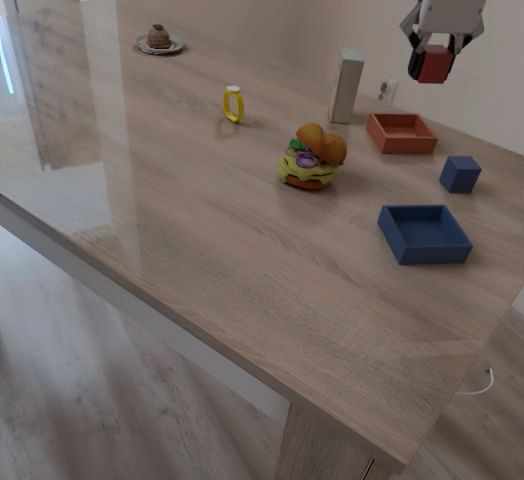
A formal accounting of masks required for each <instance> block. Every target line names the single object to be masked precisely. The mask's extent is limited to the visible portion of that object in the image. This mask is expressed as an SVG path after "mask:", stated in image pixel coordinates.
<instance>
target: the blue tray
mask: <svg viewBox="0 0 524 480" xmlns="http://www.w3.org/2000/svg"><path fill="white" fill-rule="evenodd" d="M377 224H378V226H379V228H380V230H381V233H382V235H383V236H384V238H385V241H386V242H387V244H388V246H389V249H390V250H391V252H392V254H393V257H394V258H395V259H396V262H397V264H398V266H399V265H400V266H401V265H427V264H429V265H431V264H432V265H433V264H459V263H463V264H464V263H466V261H467V259H469V255H470V254H471V252H472V250H473V248H474V244H473V243H472V242H471V240H470V239H469V237H468V236H467V235H466V232H465V231H464V230H463V228H462V227H461V226H460V224H459V223H458V221H457V219H455V217H454V215H453V214H452V212H451V211H450V209H449V208H448V206H447V205H446V204H393V205H391V204H389V205H388V204H387V205H386V204H385V205H382V206H381V209H380V211H379V215H378V219H377Z"/></svg>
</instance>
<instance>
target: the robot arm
mask: <svg viewBox="0 0 524 480" xmlns="http://www.w3.org/2000/svg"><path fill="white" fill-rule="evenodd" d="M486 2H487V0H413V4H412V7H411V10H410V12H408V14H407V15H406V16H405V17H404V18H403V19H402V20H401V22H400V23H399V25H398V26H399V29H400V30H401V32H402V33H403V34H404V35H405V36H406V38H407V40H408V42H409V44H410V46H411V48H412V51H411V54H410V58H409V61H408V65H407V75H408V76H409V77H410V78H411V79H412V80H413V81H417V79H418V78H419V75H420V71H421V68H422V65H423V62H424V58H425V54H424V53H423V52H424V49H425V47H426V45H427V44H429V41H430V39H431V37H432V35H433V34H448V41H447V46H446V48H447V49H448V50H449V51H450V52H451V53H452V54H453V58H452V61H451V64H450V67H449V69H448V72H447V75H446V78H445V81H444V82H446V81H447V80H448V77H449V74H451V72H452V69H453V66H454V63H455V61H456V58H457V56H458V55H460V54H461V52H462V50H463V49H464V48H466V47H467V46H468V45H469V44H470V43H471V42H472V41H473V40H475V39H477V38H478V37H480V36H482V35H483V34H484V33H485V24H484V20H483V19H484V18H483V12H484V8H485V6H486ZM414 25H417V26H418V29H417V30H416V31H415V29H414V28H413V26H414Z"/></svg>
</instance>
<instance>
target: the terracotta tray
mask: <svg viewBox="0 0 524 480" xmlns="http://www.w3.org/2000/svg"><path fill="white" fill-rule="evenodd" d="M366 123H367V124H366V130H367V131H368V133H369V134H370V136H371V138H372V140H373V141H374V143H375V144H376V146H377V148H378V149H379V151H380V153H381V154H422V155H423V154H428V155H429V154H431V155H432V154H434V151H435V149H436V146H437V144H438V141H439V137H438V136H437V135H436V133H435V132H434V131H433V130H432V128H431V127H430V126H429V124H428V123H427V122H426V121H425V119H424V118H423V117H422V116H421V114H420V113H412V112H411V113H408V112H406V113H405V112H370V113H369V115H368V119H367V122H366Z"/></svg>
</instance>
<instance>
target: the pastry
mask: <svg viewBox="0 0 524 480" xmlns="http://www.w3.org/2000/svg"><path fill="white" fill-rule="evenodd" d="M151 26H152V28H150V29H149V31H148V32H147V33H146V34H143V35H142V34H141V35H138V36H137V37H136V38H135V39H134V43H135V45H136V46H137V47H138V48H139V47H140V48H142V49H145V50H147V51H149V52H152V53H159V54H165V53H167V54H169V53H168V52H171V53H170V54H175V53H174V52H177V53H180V52H179V51H181V50H182V49H183V47H184V46H185V42H184V40H183V39H181V38H179V37H178V36H176V35H172V34H169V33H168V31H167V30H166V28H164V25H162V24H159V23H158V24H157V23H155V24H152V25H151ZM143 39H147V41H146V44H147V45H148V46H149V47H150V48H154V49H169V48H170V47H171V46H172V44H173V45H174V48H173V49H171V50H153V49H149V48H146V47H145V46H143V44H141V43H139V41H141V40H143ZM165 55H166V54H165Z"/></svg>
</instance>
